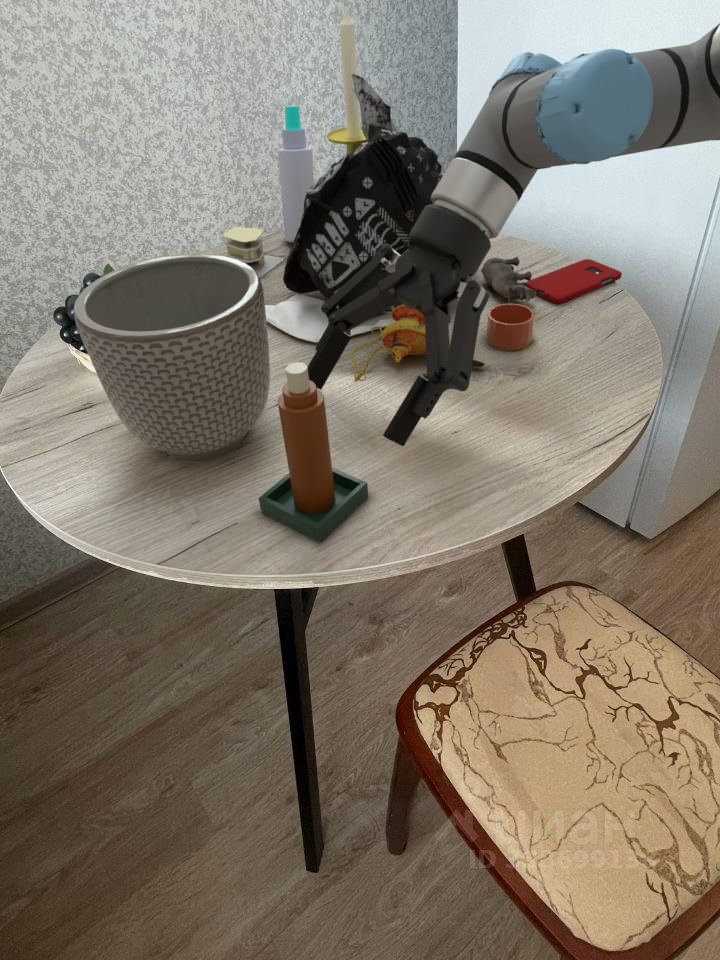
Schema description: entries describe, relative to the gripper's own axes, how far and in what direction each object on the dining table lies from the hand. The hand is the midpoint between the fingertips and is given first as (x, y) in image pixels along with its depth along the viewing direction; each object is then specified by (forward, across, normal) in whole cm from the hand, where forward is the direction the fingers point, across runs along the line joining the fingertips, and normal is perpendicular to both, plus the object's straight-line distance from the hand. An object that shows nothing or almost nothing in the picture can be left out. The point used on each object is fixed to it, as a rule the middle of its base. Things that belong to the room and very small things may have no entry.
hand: (349, 411), depth 71 cm
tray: (+11, 0, -3) cm, 11 cm away
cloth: (-7, +32, -21) cm, 39 cm away
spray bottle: (-18, +61, -31) cm, 71 cm away
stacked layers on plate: (-9, +60, -23) cm, 65 cm away
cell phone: (-33, +15, -45) cm, 58 cm away
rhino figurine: (-29, +18, -40) cm, 52 cm away
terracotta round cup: (-18, +10, -32) cm, 38 cm away
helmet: (-8, +37, -18) cm, 42 cm away
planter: (+13, +20, -1) cm, 23 cm away
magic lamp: (-14, +17, -21) cm, 31 cm away
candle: (-20, +46, -34) cm, 61 cm away
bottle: (+10, 0, -3) cm, 11 cm away
